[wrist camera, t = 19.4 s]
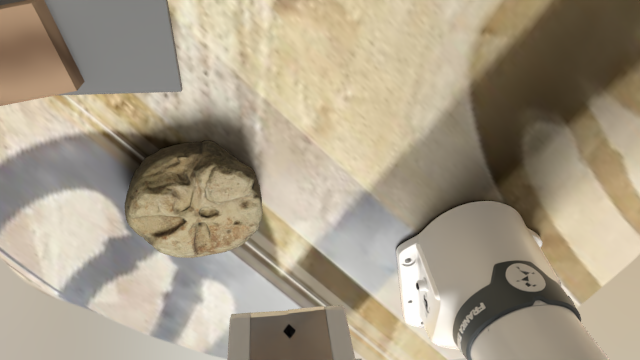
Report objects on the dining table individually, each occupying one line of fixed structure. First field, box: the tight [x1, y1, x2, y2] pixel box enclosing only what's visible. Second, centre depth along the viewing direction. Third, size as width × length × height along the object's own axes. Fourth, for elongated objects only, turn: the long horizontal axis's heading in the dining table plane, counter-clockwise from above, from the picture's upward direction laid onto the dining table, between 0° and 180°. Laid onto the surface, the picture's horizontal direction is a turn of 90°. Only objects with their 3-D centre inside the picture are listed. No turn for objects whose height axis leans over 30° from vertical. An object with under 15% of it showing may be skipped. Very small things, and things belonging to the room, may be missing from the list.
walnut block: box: [0, 0, 85, 106], centre depth 35 cm, size 7×7×2 cm
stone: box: [125, 141, 262, 258], centre depth 44 cm, size 13×13×5 cm
